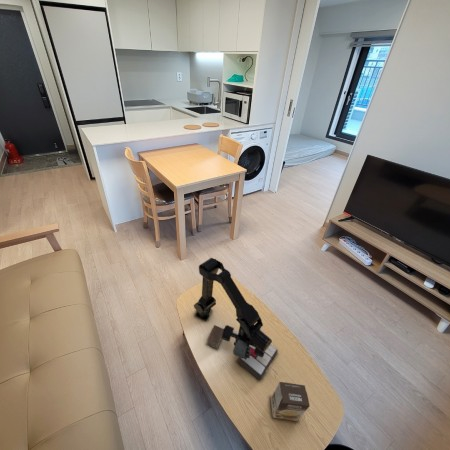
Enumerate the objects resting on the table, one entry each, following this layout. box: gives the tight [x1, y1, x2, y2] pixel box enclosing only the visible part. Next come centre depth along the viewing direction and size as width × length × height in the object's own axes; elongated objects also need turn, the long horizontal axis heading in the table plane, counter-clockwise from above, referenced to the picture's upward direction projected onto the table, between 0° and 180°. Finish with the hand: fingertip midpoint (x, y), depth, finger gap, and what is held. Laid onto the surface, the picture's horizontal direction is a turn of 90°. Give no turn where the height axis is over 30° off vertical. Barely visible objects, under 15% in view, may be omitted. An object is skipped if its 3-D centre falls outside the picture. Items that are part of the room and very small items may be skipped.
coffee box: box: [270, 381, 310, 422], centre depth 84 cm, size 9×6×16 cm
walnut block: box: [207, 324, 224, 350], centre depth 109 cm, size 5×8×4 cm, turn 155°
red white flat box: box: [237, 343, 278, 381], centre depth 103 cm, size 11×4×15 cm
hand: (241, 349), depth 105 cm, fingers closed
